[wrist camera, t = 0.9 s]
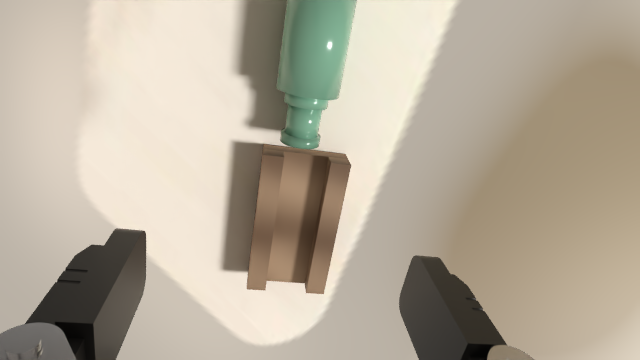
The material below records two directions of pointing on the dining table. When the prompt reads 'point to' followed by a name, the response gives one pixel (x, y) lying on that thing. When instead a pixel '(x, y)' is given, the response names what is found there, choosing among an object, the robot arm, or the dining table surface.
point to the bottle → (312, 64)
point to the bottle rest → (296, 216)
